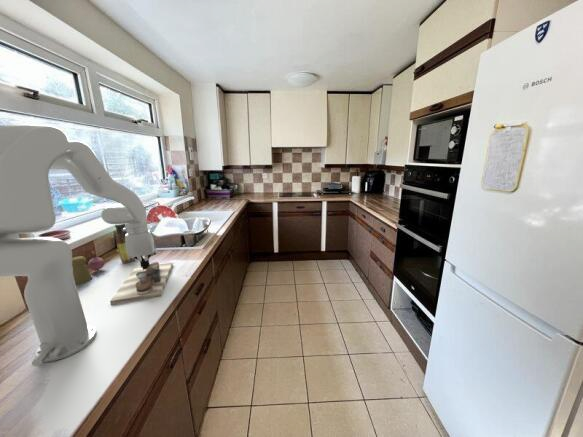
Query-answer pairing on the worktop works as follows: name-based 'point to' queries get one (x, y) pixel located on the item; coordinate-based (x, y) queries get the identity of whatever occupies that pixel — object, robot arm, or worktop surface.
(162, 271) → the pivot board
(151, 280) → the link
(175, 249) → the worktop surface
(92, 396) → the worktop surface
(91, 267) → the vegetable
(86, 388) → the worktop surface
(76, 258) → the olive green tapered block
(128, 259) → the sauce bottle
